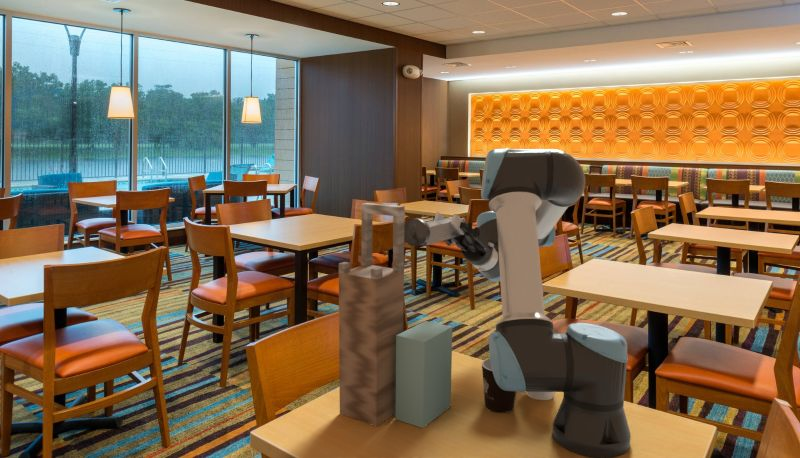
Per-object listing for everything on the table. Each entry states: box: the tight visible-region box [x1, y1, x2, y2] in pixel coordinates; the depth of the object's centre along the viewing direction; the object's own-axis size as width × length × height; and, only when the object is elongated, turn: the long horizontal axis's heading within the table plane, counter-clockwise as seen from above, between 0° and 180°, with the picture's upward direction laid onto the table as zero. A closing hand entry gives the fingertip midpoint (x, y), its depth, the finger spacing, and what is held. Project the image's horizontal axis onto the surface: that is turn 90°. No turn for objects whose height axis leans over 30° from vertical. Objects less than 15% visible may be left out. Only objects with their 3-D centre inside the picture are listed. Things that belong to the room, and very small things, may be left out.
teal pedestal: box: [394, 320, 453, 429], centre depth 130 cm, size 7×12×19 cm, turn 146°
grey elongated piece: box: [404, 216, 466, 247], centre depth 139 cm, size 6×21×6 cm, turn 147°
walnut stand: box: [338, 202, 406, 427], centre depth 129 cm, size 10×10×46 cm
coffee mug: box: [481, 357, 517, 414], centre depth 136 cm, size 12×9×10 cm
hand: (444, 218), depth 141 cm, fingers closed on grey elongated piece, 4 cm apart
